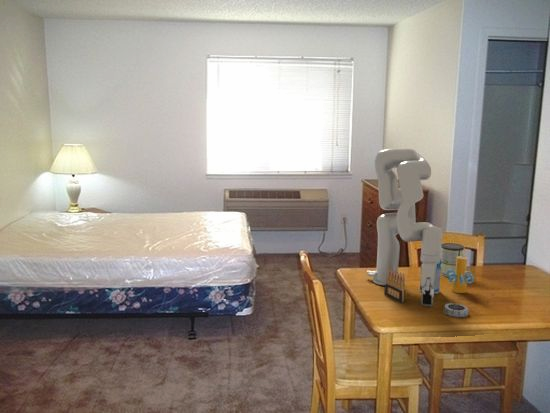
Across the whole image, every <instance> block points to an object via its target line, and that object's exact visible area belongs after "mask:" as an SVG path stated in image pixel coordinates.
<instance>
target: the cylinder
mask: <svg viewBox="0 0 550 413" xmlns="http://www.w3.org/2000/svg"><path fill="white" fill-rule="evenodd" d="M467 259H468V257H466V256H463V257H462V256H458V257H457V261H456V272H455V271H454V270H448V271H447V276H448V277H447V276H446V277H447V278H448V281H449V283H451V291H452V292H453V293H457V294H465V293H467V286H468V285H469V284H470V285H471V284H473V283H475V278H474V275H473V274H472V272H471V271H470V270H466V269H467ZM450 271H452V272H453V273H451V274H450V275H449V272H450ZM452 275H454V277H451V276H452ZM468 276H469V277H468ZM467 277H468V278H467ZM470 280H471V281H470Z"/></svg>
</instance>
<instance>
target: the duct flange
mask: <svg viewBox="0 0 550 413" xmlns="http://www.w3.org/2000/svg"><path fill="white" fill-rule="evenodd" d="M443 313H444V314H445V315H446V316H449V317H453V318H460V319H462V318H467V317H469V308H468V306H466V305H464V304H460V303H457V302H456V303H453V302H452V303H451V302H449V303H445V304H444V308H443Z"/></svg>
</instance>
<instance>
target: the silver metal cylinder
mask: <svg viewBox="0 0 550 413" xmlns="http://www.w3.org/2000/svg"><path fill="white" fill-rule="evenodd" d="M424 286H425V285H424ZM429 287H431V286H429ZM434 288H435V286H434V287H433V288H432V290H431V295H432V298H431V305H429V304H423V294H424V287H423V286H422V291H421V299H420V301H421V302H420V303H421V306H424V307H427V308H428V307H429V308H431V307H433V306H434V297H435V295H434ZM429 290H430V289H429Z"/></svg>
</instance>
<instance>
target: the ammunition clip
mask: <svg viewBox="0 0 550 413" xmlns="http://www.w3.org/2000/svg"><path fill="white" fill-rule="evenodd" d="M405 278H406V277H405V274H404V273H402V272H399V270H398V271H397V274H396V271H394V273H393V269H392V270H391V271H390V268H389V269H388V274H387V283H386V286H385V289H384V295H385V296H386V295H387V296H386V297H389V298H390V299H392V300H394V301H397V302H398V303H400V304H404V303H406V290H405V287H406V284H405V281H406V280H405Z"/></svg>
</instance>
